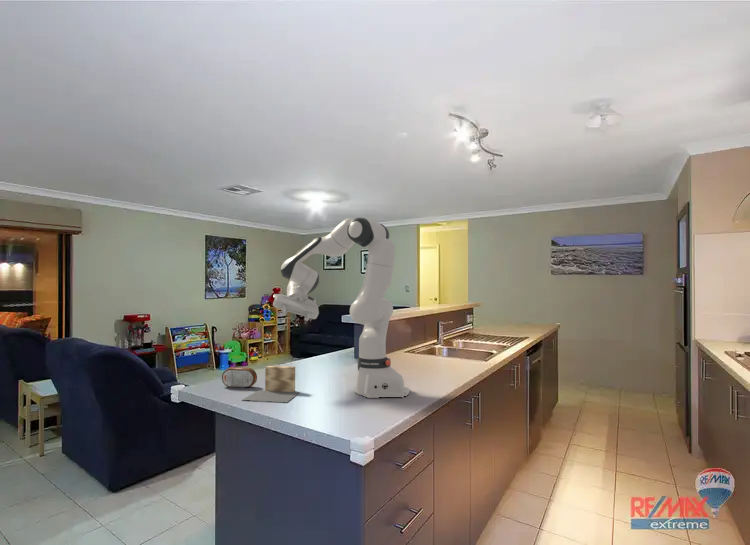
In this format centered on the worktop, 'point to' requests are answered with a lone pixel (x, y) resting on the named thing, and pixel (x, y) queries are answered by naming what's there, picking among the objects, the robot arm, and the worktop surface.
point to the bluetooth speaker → (239, 377)
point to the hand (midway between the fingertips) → (296, 316)
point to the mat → (271, 396)
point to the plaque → (280, 378)
